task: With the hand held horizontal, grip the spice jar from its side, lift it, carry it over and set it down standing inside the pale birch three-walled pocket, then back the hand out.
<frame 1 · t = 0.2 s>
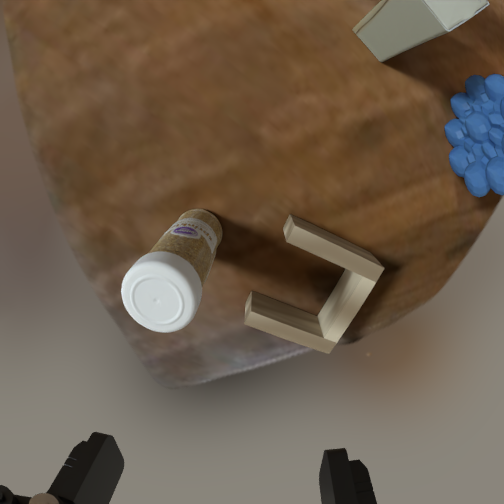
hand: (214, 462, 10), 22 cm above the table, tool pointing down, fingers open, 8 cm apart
pocket: (308, 278, 31), on the table
skincare box: (385, 34, 22), on the table
blue bumpy cluster: (455, 133, 25), on the table
spice jar: (198, 230, 29), on the table
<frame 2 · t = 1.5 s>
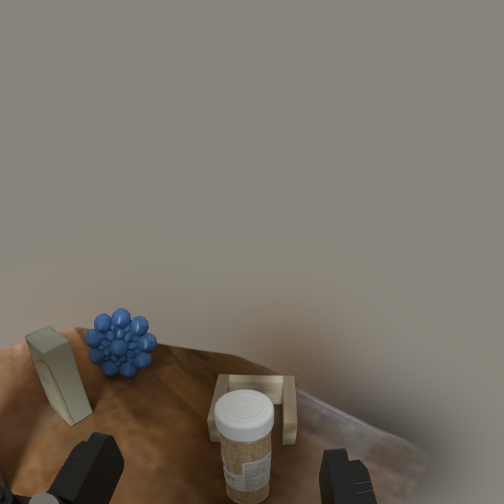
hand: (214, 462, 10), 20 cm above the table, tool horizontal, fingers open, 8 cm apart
pocket: (254, 419, 36), on the table
skincare box: (72, 410, 35), on the table
blue bumpy cluster: (129, 374, 45), on the table
spice jar: (248, 491, 25), on the table
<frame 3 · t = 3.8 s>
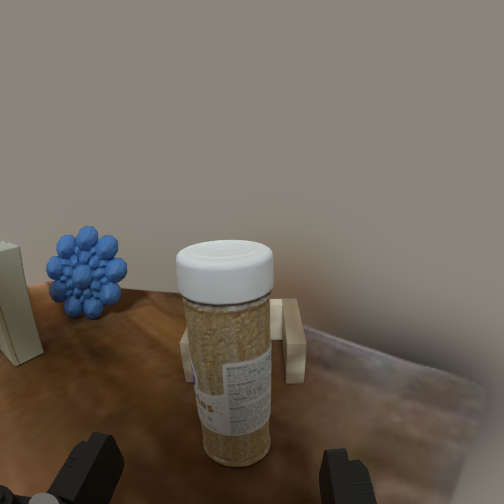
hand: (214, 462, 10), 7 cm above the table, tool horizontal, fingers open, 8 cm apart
pocket: (246, 355, 29), on the table
skincare box: (22, 352, 27), on the table
blue bumpy cluster: (95, 316, 37), on the table
spice jar: (237, 446, 18), on the table
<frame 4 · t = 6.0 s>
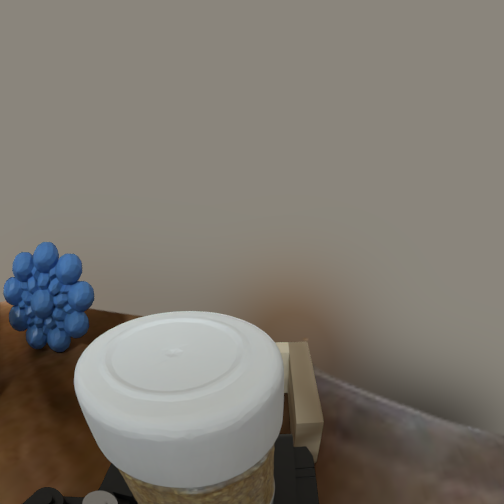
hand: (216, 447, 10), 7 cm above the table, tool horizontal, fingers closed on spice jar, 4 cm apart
pocket: (241, 418, 21), on the table
blue bumpy cluster: (63, 348, 29), on the table
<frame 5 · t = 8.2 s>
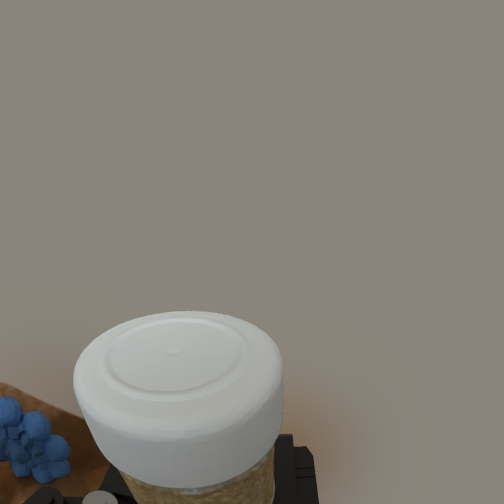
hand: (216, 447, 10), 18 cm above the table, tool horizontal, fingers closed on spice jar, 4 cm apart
blue bumpy cluster: (49, 474, 21), on the table
when the fingers open (8 cm above the table, at t = 10.4 s): spice jar drops 1 cm, on the table.
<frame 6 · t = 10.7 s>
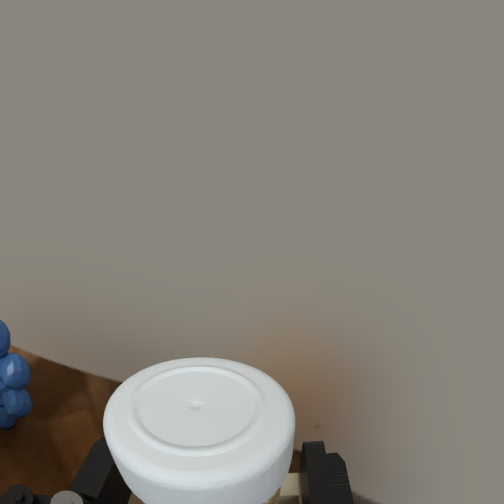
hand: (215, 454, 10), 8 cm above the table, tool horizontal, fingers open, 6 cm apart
blue bumpy cluster: (11, 420, 18), on the table
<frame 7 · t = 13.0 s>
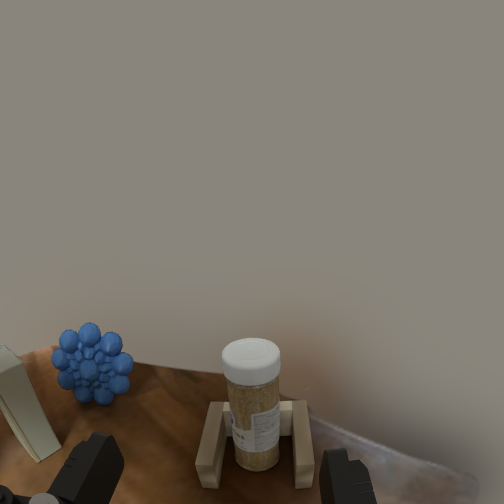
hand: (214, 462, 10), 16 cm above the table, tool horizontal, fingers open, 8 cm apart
pocket: (258, 456, 27), on the table
skincare box: (40, 444, 25), on the table
blue bumpy cluster: (106, 400, 35), on the table
spice jar: (257, 458, 26), on the table
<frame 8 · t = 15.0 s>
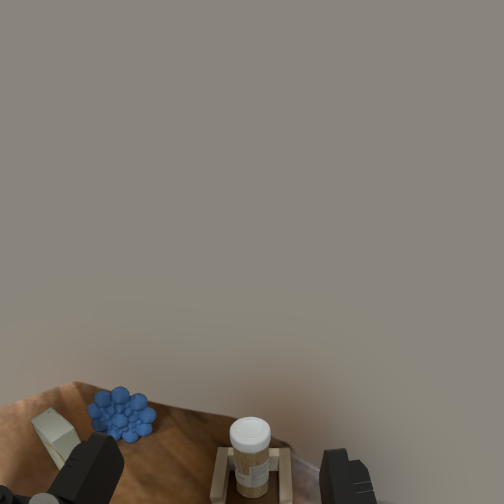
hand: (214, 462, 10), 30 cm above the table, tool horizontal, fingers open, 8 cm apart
pocket: (253, 486, 34), on the table
skincare box: (82, 477, 32), on the table
blue bumpy cluster: (131, 438, 42), on the table
spice jar: (253, 487, 34), on the table
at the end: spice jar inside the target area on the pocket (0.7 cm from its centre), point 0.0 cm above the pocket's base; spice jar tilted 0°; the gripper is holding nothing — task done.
